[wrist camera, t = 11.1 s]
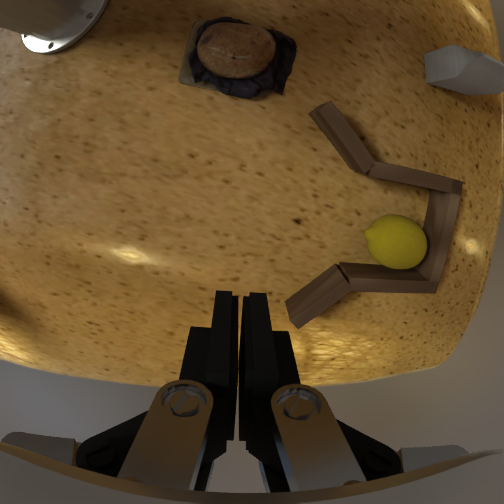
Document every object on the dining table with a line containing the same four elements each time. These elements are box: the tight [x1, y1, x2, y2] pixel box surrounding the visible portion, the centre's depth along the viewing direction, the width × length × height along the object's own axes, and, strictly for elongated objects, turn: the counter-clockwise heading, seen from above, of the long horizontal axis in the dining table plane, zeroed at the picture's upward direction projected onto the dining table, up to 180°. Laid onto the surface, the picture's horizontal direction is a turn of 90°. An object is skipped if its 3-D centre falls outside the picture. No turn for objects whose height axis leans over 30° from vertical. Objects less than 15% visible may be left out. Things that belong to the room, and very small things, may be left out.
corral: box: [285, 101, 463, 329], centre depth 29 cm, size 22×17×4 cm
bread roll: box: [179, 17, 297, 99], centre depth 24 cm, size 11×8×4 cm
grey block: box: [424, 44, 504, 96], centre depth 20 cm, size 4×7×10 cm, turn 91°
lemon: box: [364, 215, 427, 269], centre depth 29 cm, size 6×6×8 cm
